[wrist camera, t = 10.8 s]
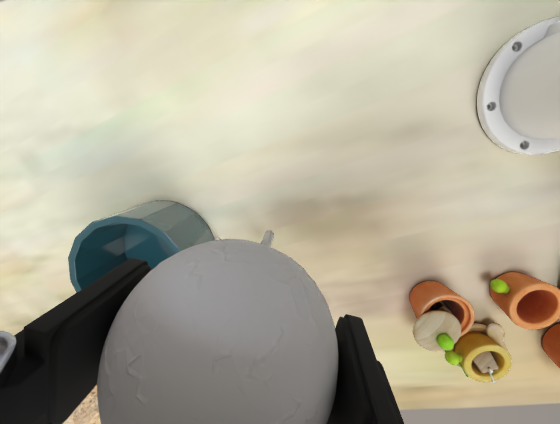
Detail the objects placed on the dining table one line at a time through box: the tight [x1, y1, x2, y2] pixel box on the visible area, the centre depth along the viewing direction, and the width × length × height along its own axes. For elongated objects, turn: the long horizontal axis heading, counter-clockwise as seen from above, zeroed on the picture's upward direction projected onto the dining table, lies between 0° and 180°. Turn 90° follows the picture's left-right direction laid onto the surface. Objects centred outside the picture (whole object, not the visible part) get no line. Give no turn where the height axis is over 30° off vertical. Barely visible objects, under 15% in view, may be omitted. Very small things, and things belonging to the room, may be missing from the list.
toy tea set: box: [410, 272, 560, 383], centre depth 28 cm, size 26×16×10 cm, turn 98°
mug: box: [68, 201, 214, 292], centre depth 31 cm, size 17×13×8 cm
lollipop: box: [97, 231, 338, 424], centre depth 12 cm, size 7×7×15 cm
